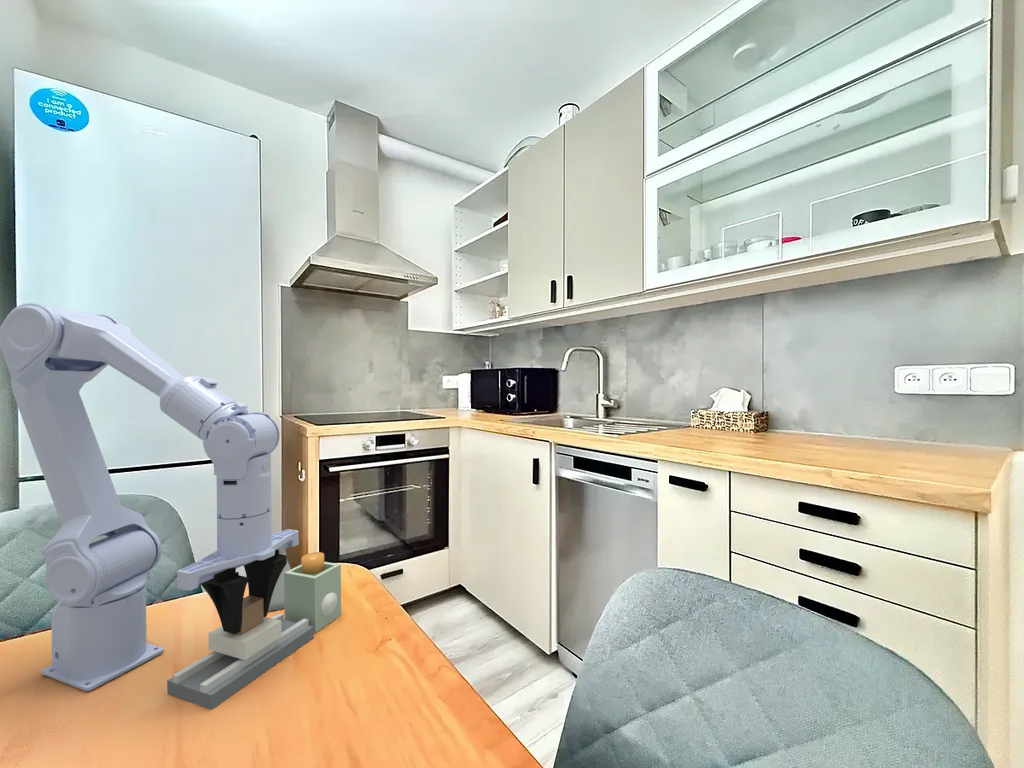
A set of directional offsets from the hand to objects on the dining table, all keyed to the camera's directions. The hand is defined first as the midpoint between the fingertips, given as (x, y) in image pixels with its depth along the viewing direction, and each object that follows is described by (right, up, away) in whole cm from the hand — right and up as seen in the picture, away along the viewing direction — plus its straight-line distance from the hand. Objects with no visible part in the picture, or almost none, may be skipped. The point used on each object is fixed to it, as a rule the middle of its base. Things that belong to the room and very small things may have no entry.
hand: (245, 623), depth 54 cm
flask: (-5, -5, +16) cm, 17 cm away
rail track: (0, -5, 0) cm, 5 cm away
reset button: (+4, +2, +10) cm, 11 cm away
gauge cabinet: (+4, -5, +10) cm, 12 cm away
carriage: (0, -2, 0) cm, 2 cm away
